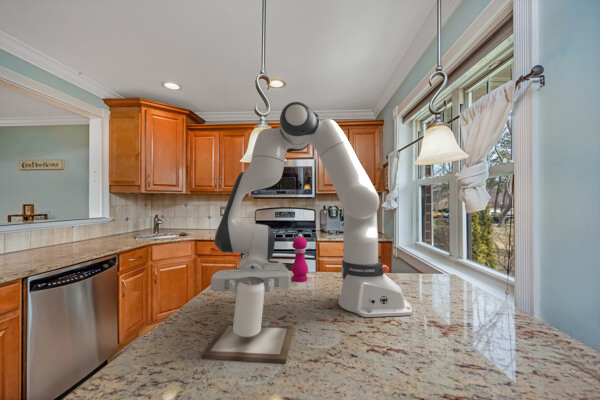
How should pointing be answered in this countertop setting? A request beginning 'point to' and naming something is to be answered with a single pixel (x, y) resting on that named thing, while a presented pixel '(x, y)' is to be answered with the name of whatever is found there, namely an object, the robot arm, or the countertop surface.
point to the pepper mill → (299, 260)
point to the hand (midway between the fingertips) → (251, 289)
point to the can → (249, 307)
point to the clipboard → (251, 344)
